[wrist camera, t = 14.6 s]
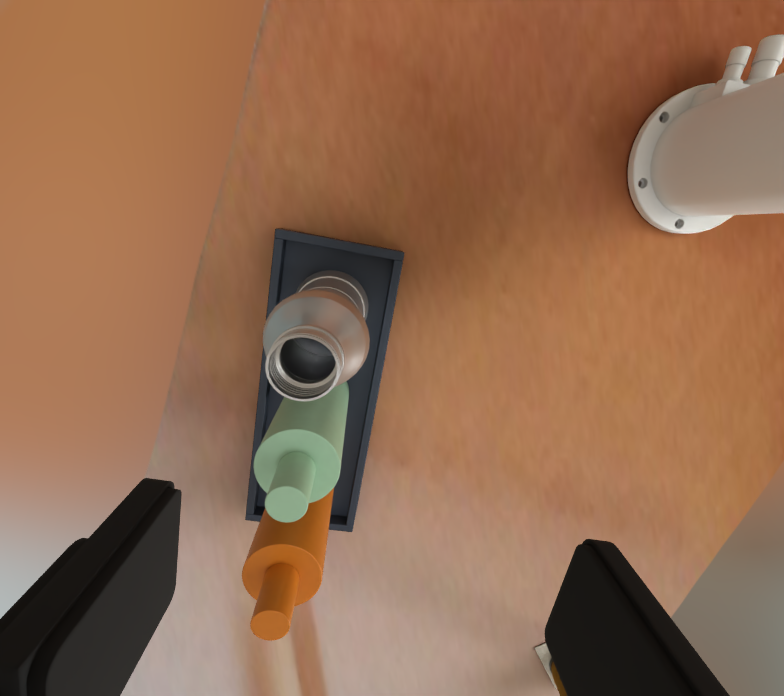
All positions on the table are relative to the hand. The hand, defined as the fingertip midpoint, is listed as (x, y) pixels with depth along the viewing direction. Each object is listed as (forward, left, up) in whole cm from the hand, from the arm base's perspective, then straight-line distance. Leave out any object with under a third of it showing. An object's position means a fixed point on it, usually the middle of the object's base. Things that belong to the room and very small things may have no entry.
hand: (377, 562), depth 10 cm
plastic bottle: (0, -4, -32) cm, 32 cm away
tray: (+9, -4, -32) cm, 34 cm away
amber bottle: (+19, -4, -32) cm, 37 cm away
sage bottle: (+9, -4, -32) cm, 33 cm away
